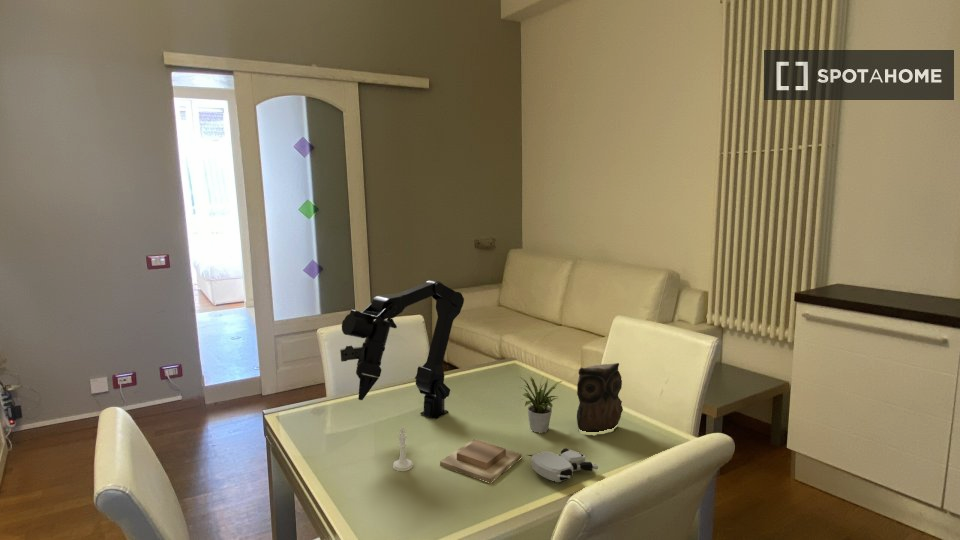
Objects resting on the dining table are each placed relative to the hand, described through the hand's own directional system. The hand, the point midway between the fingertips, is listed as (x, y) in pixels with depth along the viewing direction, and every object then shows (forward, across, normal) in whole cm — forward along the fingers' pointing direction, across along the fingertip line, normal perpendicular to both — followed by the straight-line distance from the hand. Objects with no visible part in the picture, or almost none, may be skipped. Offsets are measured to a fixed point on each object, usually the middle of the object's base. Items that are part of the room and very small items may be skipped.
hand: (360, 397), depth 142 cm
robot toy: (+4, +23, +51) cm, 57 cm away
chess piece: (+12, +13, +14) cm, 23 cm away
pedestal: (+7, +15, +33) cm, 37 cm away
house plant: (-1, -1, +51) cm, 51 cm away
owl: (-6, +1, +69) cm, 69 cm away
